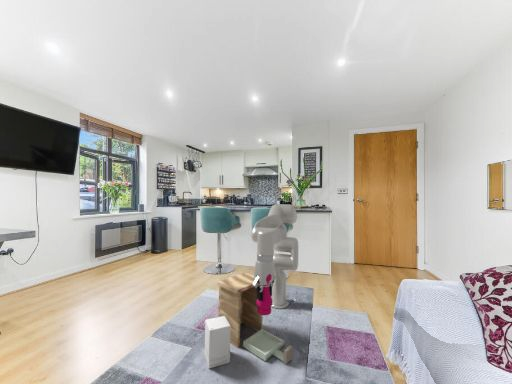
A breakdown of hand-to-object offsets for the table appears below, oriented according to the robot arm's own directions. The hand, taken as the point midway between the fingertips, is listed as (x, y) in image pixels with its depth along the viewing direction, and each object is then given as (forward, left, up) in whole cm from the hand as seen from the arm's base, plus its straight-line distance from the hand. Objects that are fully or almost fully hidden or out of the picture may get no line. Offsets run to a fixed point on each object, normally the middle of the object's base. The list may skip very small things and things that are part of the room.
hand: (264, 297), depth 102 cm
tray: (0, +4, -22) cm, 22 cm away
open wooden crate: (0, -15, -22) cm, 27 cm away
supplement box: (+19, -9, -23) cm, 31 cm away
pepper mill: (0, 0, -7) cm, 7 cm away
